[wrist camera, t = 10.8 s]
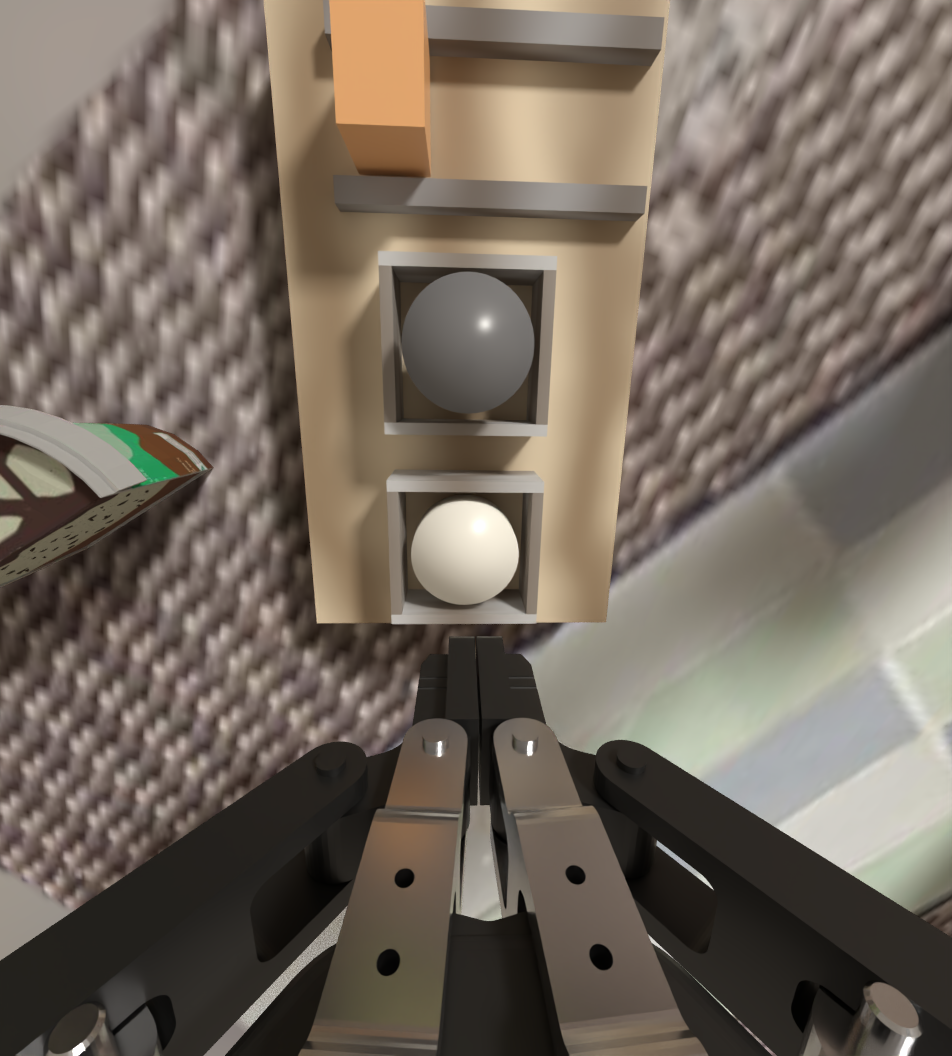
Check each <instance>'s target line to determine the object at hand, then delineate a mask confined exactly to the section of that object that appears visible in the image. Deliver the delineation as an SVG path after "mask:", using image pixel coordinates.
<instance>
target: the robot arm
mask: <svg viewBox="0 0 952 1056" xmlns="http://www.w3.org/2000/svg"><path fill="white" fill-rule="evenodd" d="M478 768H479V790H480V805H490V813H491V829H490V839H491V846H492V853H493V860H494V867H495V874H496V880H497V887H498V894H499V901H500V907H501V914H502V919H498V920H495V921H483V920H479V919H475V918H471V917H468V916H464V915H461V910H462V896H463V882H464V867H465V853H466V831H467V829H468V827H469V821H470V805H477V793H478ZM657 840H658V841H659V842H660V843H662V844H663V845H664V846H665V847H667V848H668V849H669V850H671V851H672V852H673V853H675V854H676V855H677V856H678V857H680V858H681V859H682V860H684V861H685V862H686V863H688V864H689V865H690V866H691V867H693V868H694V869H695V870H697V871H698V872H699V873H700V874H702V875H703V876H704V877H705V878H706V879H707V881H708V882H709V883H710V884H711V886H712V887H713V889H714V890H712V889H711V888H710V887H709V886H707V885H706V884H705V883H703V882H702V881H701V880H700V879H698V878H697V877H696V876H695V875H693V874H692V873H691V872H689V871H688V870H687V869H686V868H684V867H683V866H682V865H680V864H679V863H678V862H677V861H675V860H674V859H673V858H671V857H670V856H669V855H668V854H666V853H665V852H664V851H663V850H661V849H660V848H659V847H657V846H656V843H657ZM347 905H348V907H347V910H346V913H345V917H344V920H343V924H342V927H341V931H340V934H339V937H338V941H337V943H336V944H334V945H333V946H331V947H329V948H328V949H326V950H325V951H324V952H322V953H321V954H320V955H318V956H317V957H316V958H314V959H313V960H312V961H311V962H310V963H309V964H308V965H307V966H305V967H304V968H303V969H302V970H301V971H300V972H299V973H298V974H297V975H296V976H295V977H294V978H293V979H292V980H291V982H290V983H289V984H288V985H287V986H286V987H285V988H284V989H283V991H282V992H281V993H280V994H279V995H278V996H277V997H276V998H275V1000H274V1001H273V1002H272V1003H271V1004H270V1005H269V1006H268V1007H267V1009H266V1010H265V1011H264V1012H263V1013H262V1014H261V1015H260V1017H259V1018H258V1019H257V1020H256V1021H255V1022H254V1023H253V1024H252V1026H251V1027H250V1028H249V1029H248V1030H247V1031H246V1032H245V1033H244V1035H243V1036H242V1037H241V1038H240V1039H239V1040H238V1041H237V1042H236V1044H235V1045H234V1046H233V1047H232V1048H231V1049H230V1050H229V1051H228V1053H227V1054H226V1055H225V1056H772V1055H771V1054H770V1053H769V1052H768V1051H767V1050H766V1049H765V1048H764V1047H763V1046H762V1045H761V1044H760V1043H759V1042H758V1041H757V1040H756V1039H755V1038H754V1037H753V1036H752V1035H751V1034H750V1033H749V1032H748V1031H747V1030H746V1029H745V1028H744V1027H743V1026H742V1025H741V1024H740V1023H739V1022H738V1021H737V1020H736V1019H735V1018H734V1017H733V1016H732V1015H731V1014H730V1013H729V1012H728V1011H727V1010H726V1009H725V1008H724V1007H723V1006H722V1005H721V1004H720V1003H719V1002H718V1001H720V1002H721V1003H722V1004H723V1005H724V1006H725V1007H726V1008H727V1009H728V1010H729V1011H730V1012H731V1013H732V1014H733V1015H734V1016H735V1017H737V1018H738V1019H739V1020H740V1021H741V1022H742V1023H743V1024H744V1025H745V1026H746V1027H747V1028H748V1029H749V1030H750V1031H751V1032H752V1033H753V1034H755V1035H756V1036H757V1037H758V1038H759V1039H760V1040H761V1041H762V1042H763V1043H764V1044H765V1045H766V1046H767V1047H768V1048H769V1049H770V1050H771V1051H773V1052H774V1053H775V1054H776V1055H777V1056H952V938H951V937H950V936H948V935H947V934H945V933H943V932H942V931H940V930H939V929H937V928H935V927H934V926H932V925H931V924H929V923H927V922H926V921H924V920H923V919H921V918H919V917H918V916H916V915H915V914H913V913H911V912H910V911H908V910H907V909H905V908H903V907H902V906H900V905H899V904H897V903H895V902H894V901H892V900H891V899H889V898H887V897H886V896H884V895H883V894H881V893H879V892H878V891H876V890H875V889H873V888H871V887H870V886H868V885H867V884H865V883H863V882H862V881H860V880H859V879H857V878H855V877H854V876H852V875H851V874H849V873H847V872H846V871H844V870H843V869H841V868H839V867H838V866H836V865H835V864H833V863H831V862H830V861H828V860H827V859H825V858H823V857H822V856H820V855H819V854H817V853H815V852H814V851H812V850H811V849H809V848H807V847H806V846H804V845H803V844H801V843H799V842H798V841H796V840H795V839H793V838H791V837H790V836H788V835H787V834H785V833H783V832H782V831H780V830H779V829H777V828H775V827H774V826H772V825H771V824H769V823H767V822H766V821H764V820H763V819H761V818H759V817H758V816H756V815H755V814H753V813H751V812H750V811H748V810H747V809H745V808H743V807H742V806H740V805H739V804H737V803H735V802H734V801H732V800H731V799H729V798H727V797H726V796H724V795H723V794H721V793H719V792H718V791H716V790H715V789H713V788H711V787H710V786H708V785H707V784H705V783H703V782H702V781H700V780H699V779H697V778H695V777H694V776H692V775H691V774H689V773H687V772H686V771H684V770H683V769H681V768H679V767H678V766H676V765H675V764H673V763H671V762H670V761H668V760H667V759H665V758H663V757H662V756H660V755H659V754H657V753H655V752H654V751H652V750H651V749H649V748H647V747H645V746H644V745H641V744H639V743H636V742H632V741H627V740H614V741H610V742H607V743H605V744H603V745H602V746H601V747H600V748H599V749H598V751H597V754H596V755H593V754H588V753H584V752H580V751H577V750H573V749H571V748H568V747H566V746H564V745H563V744H561V743H560V742H558V741H557V738H556V736H555V734H554V732H553V731H552V730H551V729H550V728H549V727H548V726H547V725H546V722H545V718H544V715H543V711H542V707H541V703H540V699H539V695H538V691H537V689H536V683H535V679H534V675H533V671H532V667H531V664H530V663H529V662H528V661H527V660H526V659H525V658H524V657H523V656H522V655H521V654H505V652H504V646H503V640H502V636H477V637H476V655H475V637H449V652H448V654H430V655H429V656H428V658H427V659H426V660H425V661H424V662H423V663H422V665H421V670H420V678H419V684H418V691H417V698H416V705H415V712H414V719H413V726H412V727H411V728H410V729H409V730H408V731H407V733H406V734H405V736H404V739H403V743H402V744H400V745H399V746H398V747H396V748H394V749H392V750H390V751H388V752H385V753H381V754H378V755H374V756H370V757H366V755H365V752H364V751H363V750H362V749H361V748H360V747H359V746H357V745H355V744H352V743H349V742H331V743H327V744H324V745H321V746H319V747H316V748H315V749H313V750H311V751H310V752H308V753H307V754H305V755H304V756H302V757H301V758H299V759H298V760H296V761H295V762H293V763H292V764H290V765H289V766H287V767H286V768H284V769H283V770H282V771H280V772H279V773H277V774H276V775H274V776H273V777H271V778H270V779H268V780H267V781H265V782H264V783H262V784H261V785H259V786H258V787H256V788H255V789H253V790H252V791H250V792H249V793H248V794H246V795H245V796H243V797H242V798H240V799H239V800H237V801H236V802H234V803H233V804H231V805H230V806H228V807H227V808H225V809H224V810H222V811H221V812H219V813H218V814H216V815H215V816H214V817H212V818H211V819H209V820H208V821H206V822H205V823H203V824H202V825H200V826H199V827H197V828H196V829H194V830H193V831H191V832H190V833H188V834H187V835H185V836H184V837H182V838H181V839H180V840H178V841H177V842H175V843H174V844H172V845H171V846H169V847H168V848H166V849H165V850H163V851H162V852H160V853H159V854H157V855H156V856H154V857H153V858H151V859H150V860H148V861H147V862H146V863H144V864H143V865H141V866H140V867H138V868H137V869H135V870H134V871H132V872H131V873H129V874H128V875H126V876H125V877H123V878H122V879H120V880H119V881H117V882H116V883H114V884H113V885H112V886H110V887H109V888H107V889H106V890H104V891H103V892H101V893H100V894H98V895H97V896H95V897H94V898H92V899H91V900H89V901H88V902H86V903H85V904H83V905H82V906H80V907H79V908H78V909H76V910H75V911H73V912H72V913H70V914H69V915H67V916H66V917H64V918H63V919H61V920H60V921H58V922H57V923H55V924H54V925H52V926H51V927H49V928H48V929H46V930H45V931H44V932H42V933H41V934H39V935H38V936H36V937H35V938H33V939H32V940H30V941H29V942H27V943H26V944H24V945H23V946H21V947H20V948H19V949H17V950H15V951H14V952H12V953H11V954H10V955H8V956H7V957H5V958H4V959H2V960H1V961H0V1056H203V1055H204V1054H205V1053H206V1052H207V1051H208V1050H209V1049H210V1048H211V1047H212V1046H213V1045H214V1044H215V1043H216V1042H217V1041H218V1040H219V1039H220V1038H221V1037H222V1035H224V1033H225V1032H226V1031H227V1030H228V1029H229V1028H230V1027H231V1026H232V1025H233V1024H234V1023H235V1022H236V1021H237V1020H238V1019H239V1018H240V1017H241V1016H242V1015H243V1014H244V1013H245V1012H246V1011H247V1010H248V1009H249V1007H250V1006H251V1005H252V1004H253V1003H254V1002H255V1001H256V1000H257V999H258V998H259V997H260V996H261V995H262V994H263V993H264V992H265V991H266V990H267V989H268V988H269V987H270V986H271V985H272V984H273V982H274V981H275V980H276V979H277V978H278V977H279V976H280V975H281V974H282V973H283V972H284V971H285V970H286V969H287V968H288V967H289V966H290V965H291V964H292V963H293V962H294V961H295V960H296V959H297V957H298V956H299V955H300V954H301V953H302V952H303V951H304V950H305V949H306V948H307V947H308V946H309V945H310V944H311V943H312V942H313V941H314V940H315V939H316V938H317V937H318V936H319V935H320V934H321V932H322V931H323V930H324V929H325V928H326V927H327V926H328V925H329V924H330V923H331V922H332V921H333V920H334V919H335V918H336V917H337V916H338V915H339V914H340V913H341V912H342V911H343V910H344V909H345V907H346V906H347ZM648 935H650V936H651V937H652V938H653V939H654V940H655V941H656V942H657V943H658V944H659V945H660V946H661V947H662V948H663V949H664V950H665V951H667V952H668V953H669V954H670V955H671V956H672V957H673V958H674V959H675V960H676V961H675V960H674V959H673V958H672V957H670V956H669V955H668V954H667V953H665V952H664V951H663V950H661V949H660V948H658V947H657V946H655V945H654V944H652V943H651V941H650V938H649V936H648ZM684 968H685V969H686V970H687V971H688V972H689V973H690V974H691V975H692V976H693V977H694V978H695V979H696V980H697V981H698V982H699V983H700V984H702V985H703V986H704V987H705V988H706V989H707V990H708V991H709V992H710V993H711V994H712V995H713V996H714V997H715V998H716V999H717V1000H718V1001H717V1000H716V999H715V998H714V997H712V996H711V995H710V994H709V993H708V992H707V991H706V990H705V989H704V988H703V987H702V986H701V985H700V984H699V983H698V982H697V981H696V980H695V979H694V978H693V977H692V976H691V975H690V974H689V973H688V972H687V971H686V970H685V969H684Z"/></svg>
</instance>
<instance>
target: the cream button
mask: <svg viewBox="0 0 952 1056" xmlns="http://www.w3.org/2000/svg"><path fill="white" fill-rule="evenodd" d="M518 557H519V549H518V543H517V539H516V536H515V534H514V531H513V529H512V526H511V524H510V522H509V520H508V518H507V517H506V515H505V514H504V513H503V511H502V510H501V509H500V508H499V507H497V506H496V505H495V504H493V503H492V502H490V501H488V500H486V499H484V498H481V497H479V496H474V495H455V496H451V497H448V498H445V499H443V500H441V501H439V502H437V503H436V504H434V505H433V506H432V507H430V508H429V509H428V510H427V511H426V513H425V514H424V515H423V517H422V518H421V520H420V522H419V524H418V526H417V529H416V532H415V535H414V539H413V542H412V548H411V561H412V566H413V569H414V572H415V575H416V577H417V578H418V580H419V582H420V583H421V584H422V586H423V587H424V588H425V589H426V590H427V591H428V592H430V593H431V594H432V595H434V596H435V597H437V598H438V599H441V600H443V601H445V602H449V603H453V604H459V605H470V604H476V603H480V602H484V601H486V600H488V599H491V598H492V597H494V596H496V595H497V594H498V593H500V592H501V591H502V590H503V589H504V588H505V587H506V586H507V585H508V583H509V582H510V581H511V579H512V577H513V575H514V573H515V571H516V568H517V564H518Z"/></svg>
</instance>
